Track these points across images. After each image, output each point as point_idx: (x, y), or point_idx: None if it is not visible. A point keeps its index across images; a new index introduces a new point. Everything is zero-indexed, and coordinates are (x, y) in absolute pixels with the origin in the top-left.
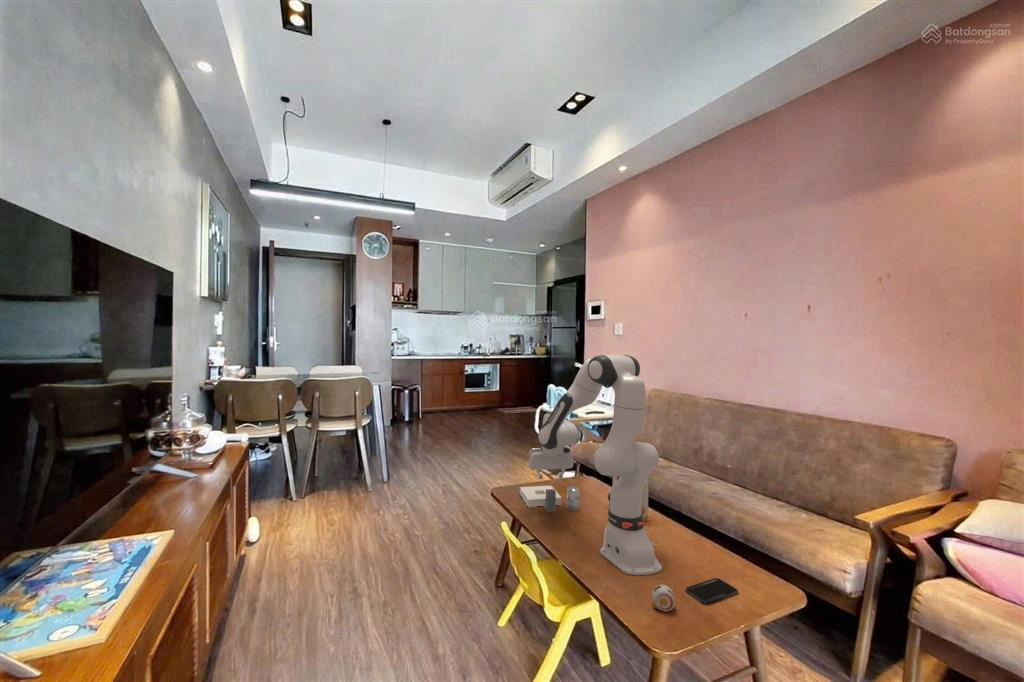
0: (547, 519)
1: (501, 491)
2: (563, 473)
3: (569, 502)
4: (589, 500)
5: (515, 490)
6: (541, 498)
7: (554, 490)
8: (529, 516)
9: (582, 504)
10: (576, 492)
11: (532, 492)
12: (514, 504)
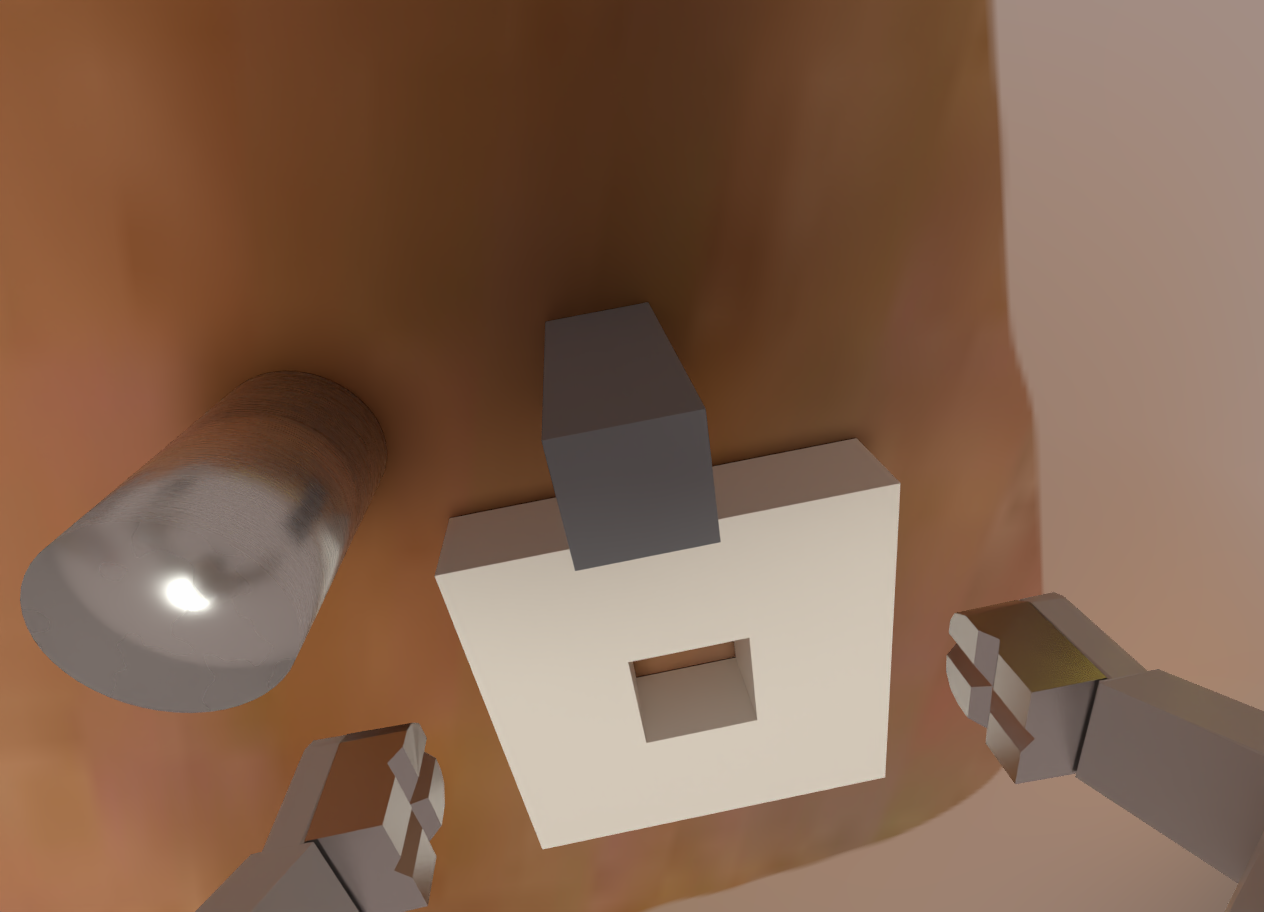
0: (686, 67)
1: None
2: (217, 903)
3: (317, 436)
4: None
5: None
6: None
7: (560, 508)
8: (909, 176)
9: None
10: (98, 511)
11: (787, 679)
12: (975, 504)
